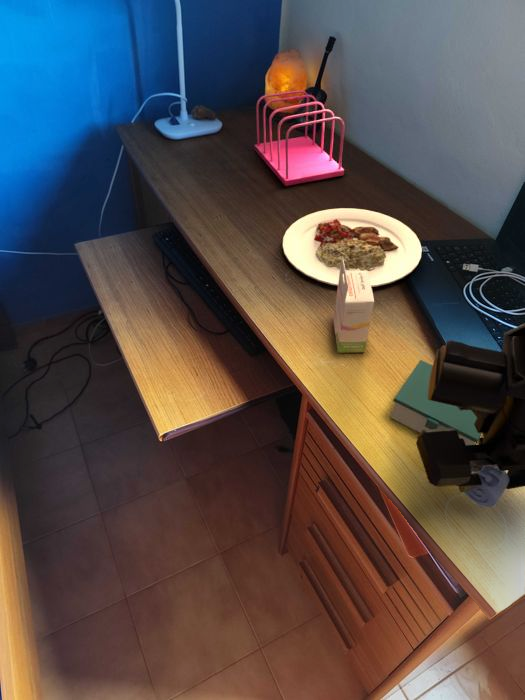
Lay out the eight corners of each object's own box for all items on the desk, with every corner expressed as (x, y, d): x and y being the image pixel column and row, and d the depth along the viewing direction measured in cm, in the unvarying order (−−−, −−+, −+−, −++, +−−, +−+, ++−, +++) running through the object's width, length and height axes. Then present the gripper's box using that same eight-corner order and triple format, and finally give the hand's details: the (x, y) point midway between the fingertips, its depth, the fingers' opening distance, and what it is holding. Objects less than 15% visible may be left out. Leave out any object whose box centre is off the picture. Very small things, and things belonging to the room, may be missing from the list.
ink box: (365, 353, 81) (379, 287, 71) (337, 353, 82) (346, 287, 71) (359, 320, 87) (370, 254, 77) (332, 320, 88) (340, 254, 77)
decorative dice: (502, 488, 59) (513, 473, 56) (490, 512, 57) (501, 497, 54) (471, 471, 61) (480, 455, 58) (458, 493, 59) (467, 477, 56)
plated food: (387, 312, 89) (390, 298, 86) (256, 264, 100) (256, 250, 98) (438, 237, 106) (442, 224, 103) (321, 203, 117) (322, 191, 115)
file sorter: (285, 187, 124) (285, 126, 112) (254, 150, 140) (252, 93, 129) (343, 175, 127) (350, 115, 116) (307, 141, 144) (309, 85, 133)
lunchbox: (489, 413, 72) (501, 393, 68) (466, 461, 66) (477, 442, 63) (414, 378, 77) (421, 357, 74) (386, 419, 72) (392, 399, 68)
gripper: (580, 349, 52) (527, 428, 64) (417, 360, 52) (392, 437, 63) (642, 433, 45) (569, 505, 56) (451, 446, 44) (416, 516, 56)
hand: (483, 487), depth 58 cm, fingers closed on decorative dice, 5 cm apart
